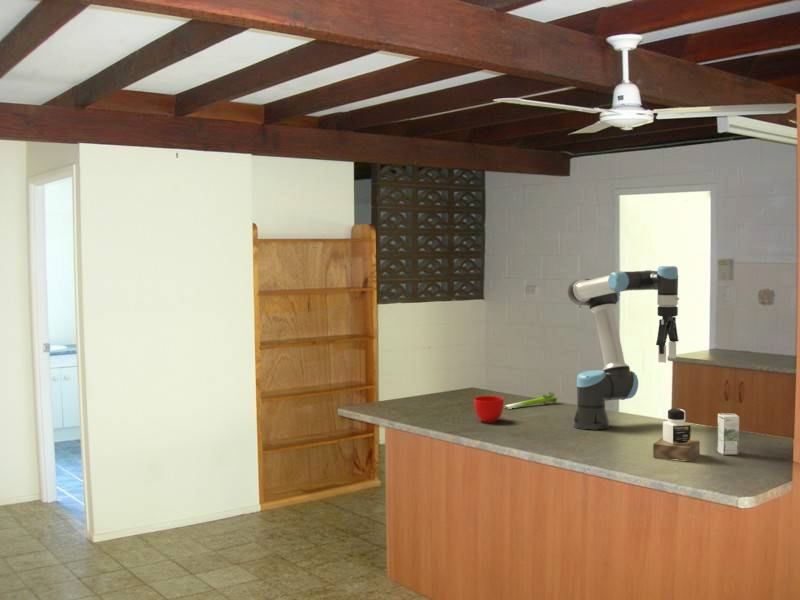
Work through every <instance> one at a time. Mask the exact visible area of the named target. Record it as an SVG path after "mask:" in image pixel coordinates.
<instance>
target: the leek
mask: <svg viewBox="0 0 800 600" xmlns="http://www.w3.org/2000/svg"><path fill="white" fill-rule="evenodd" d="M556 394H558V392H552V393H551V392H548V395H547V394H544V395H542V397H538V398H533V399H530V400H523V401H519V402H514V403H511V404H506V405H503V409H504V408H507V409H511V410H513V409H512V408H514V409H517V408H521V407H525V406H529V405H533V404H540V403H543V404H546V403H550V402H551V403H552V405H555V403H557V401H558V398H557V397H555V396H556Z"/></svg>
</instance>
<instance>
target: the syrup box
mask: <svg viewBox="0 0 800 600" xmlns="http://www.w3.org/2000/svg"><path fill="white" fill-rule="evenodd" d="M716 437H717V444H716V451H717V452H718V453H720V454H721V455H723V456H734V455H735V456H736V455H737V456H739V449H740V448H739V447H740V446H739V442H740V416H738V415H737V414H736V413H727V412H726V413H724V412H723V413H717V436H716Z"/></svg>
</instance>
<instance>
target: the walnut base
mask: <svg viewBox="0 0 800 600" xmlns="http://www.w3.org/2000/svg"><path fill="white" fill-rule="evenodd" d="M700 443H701V442H700V440H695V439H690V443H687V444H675V445H673V444H670V443H668V442H666V441H663V437H661V438H659V440H657V441H655V442H653V444H652V449H653V451H652V452H653V453H652V455H653V457H657V458H656V459H661V458H667V459H666V460H669V459H678V460H686V461H691V460H692V459H693V460H694V459H696V458H697V457H698V456H699V455H700V451H701V450H700V446H701V445H700ZM697 455H698V456H697ZM696 456H697V457H696ZM653 457H652V458H653ZM695 457H696V458H695ZM693 460H692V461H693ZM692 461H691V462H692Z"/></svg>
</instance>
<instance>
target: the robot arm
mask: <svg viewBox="0 0 800 600" xmlns="http://www.w3.org/2000/svg"><path fill="white" fill-rule="evenodd" d="M647 290H649V291H650V290H654V291H657V317H661V319H659V320H658V321H659V323H658V329H657V330H658V331H657V336H656V342H655V344H656V345H655V346H657V348H658V349H657V350H658V357H657V359H658V363H667V345H666V342H667V338H668V339H669V341H668V359H677V342H679V336H678V330H677V329H678V328H677V323H676V322H677V319H676V317H677V316H679V315H678V314H679V307H678V306H677V305H678V304H679V303H678V301H679V300H680V298H679V296H678V295H679V271H678V267H677V266H675V265H663V266H662V265H661V266H658V267H657V270H651V269H650V270H636V271H623V270H622V271H621V270H620V271H613V272H611V273H610V274H608V275H605V276H601V277H600V276H599V277H596V278H580V279H577V280H574V281H572V282H571V283H570V284H569V285H568V287H567V297H568V298H569V300H570V301H571V302H572V303H574V304H576V305H577V306H588V307H589V310H590V312H591V313H593V314H594V319H595V325H596V330H597V334H598V340H599V344H600V350H601V353H602V359H603V364H604V367H603V368H602V370H600V369H595V370H594V369H593V370H585V371H582V372H580V373H579V374H578V375H577V378H576V410H575V414H574V416H573V420H572V427H573V428H577V429H579V428H580V429H579V430H586V429H591V430H590V431H595V430H596V431H598V429H601V430H606V428H607V429H609V428H610V419H609V417H608V414H607V410H606V402H608V401H620V400H622V401H624V400H629V399H632V398H633V397H635V396H636V393H637V391H638V388H639V378H638V376H637V374H636V372H634V371H632V370H630V369H631V368H630V366H629V365H628V364H626V362H625V359H624V358H625V357H624V352H623V348H622V343H621V338H620V333H619V329H618V328H619V327H618V323H617V319H616V313H615V309H616V308H617V304H618V303H619V302H620V296H621V292H627V291H628V292H629V291H647Z"/></svg>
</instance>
